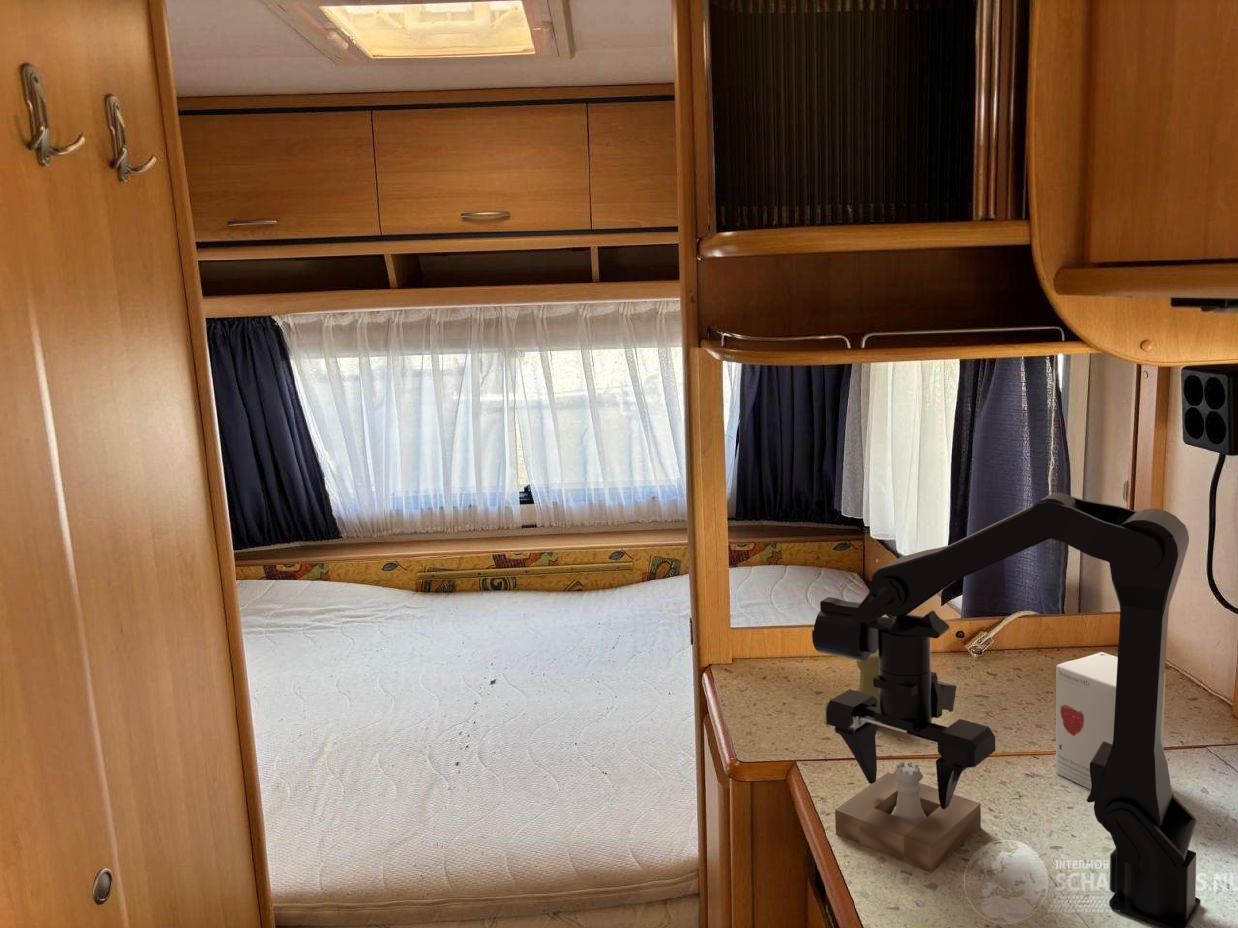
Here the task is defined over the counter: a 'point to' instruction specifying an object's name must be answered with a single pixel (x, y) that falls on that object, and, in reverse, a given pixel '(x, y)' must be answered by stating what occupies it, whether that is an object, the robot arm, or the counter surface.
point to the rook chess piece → (908, 793)
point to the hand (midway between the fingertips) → (907, 794)
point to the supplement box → (1085, 713)
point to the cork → (869, 676)
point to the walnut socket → (908, 823)
